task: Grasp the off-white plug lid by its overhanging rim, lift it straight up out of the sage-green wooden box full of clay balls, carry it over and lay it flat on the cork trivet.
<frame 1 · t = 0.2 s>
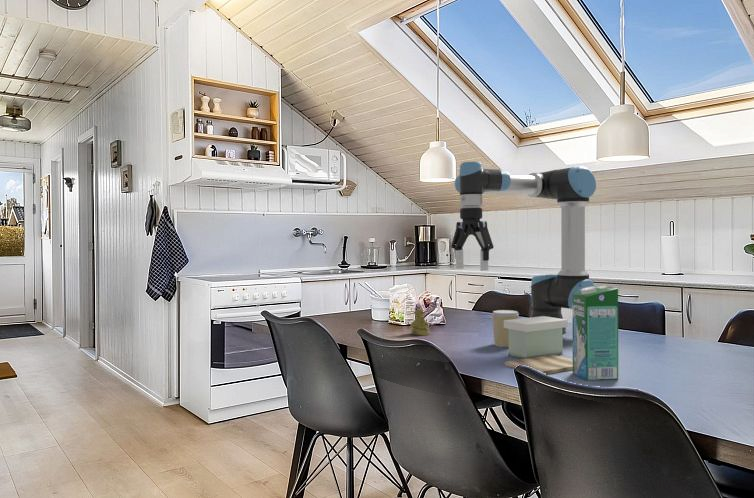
hand: (471, 269, 200), 28 cm above the table, fingers open, 13 cm apart
olive green tiered cone: (419, 334, 235), on the table
coffee cup: (505, 345, 210), on the table
milk carton: (595, 376, 163), on the table
lid: (535, 327, 192), point 9 cm above the table, touching box
trivet: (547, 366, 176), on the table
box: (535, 354, 192), on the table
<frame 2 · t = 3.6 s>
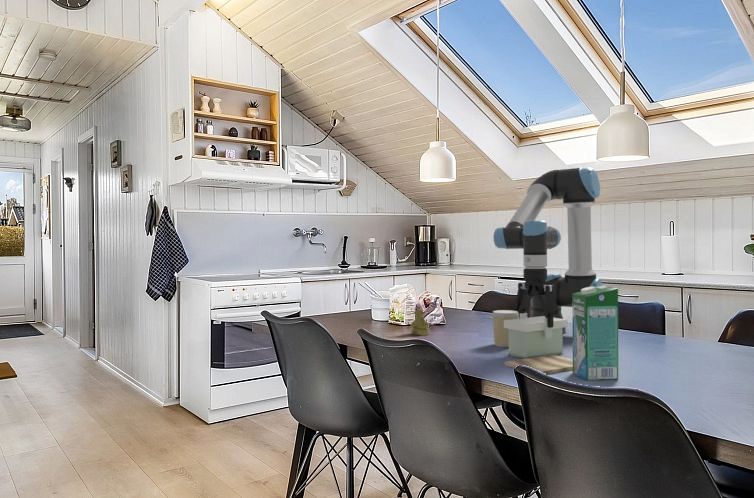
hand: (535, 335, 192), 6 cm above the table, fingers closed on lid, 10 cm apart
lid: (535, 327, 192), point 9 cm above the table, touching box, gripper
everything else where it was.
when the fingers open (2 cm above the table, at t = 11.1 s): lid drops 3 cm, resting on trivet.
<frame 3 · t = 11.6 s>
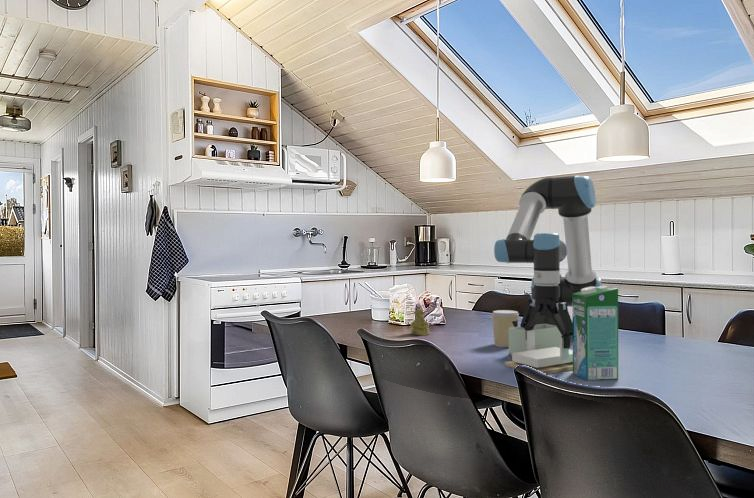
hand: (547, 355, 176), 3 cm above the table, fingers open, 13 cm apart
lid: (547, 360, 176), point 2 cm above the table, touching trivet
everything else where it was.
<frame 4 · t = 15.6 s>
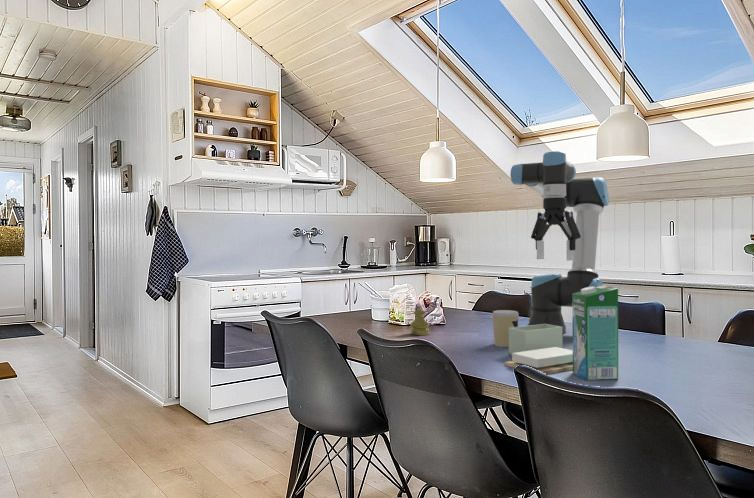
hand: (554, 259, 200), 31 cm above the table, fingers open, 13 cm apart
nothing on the table moved.
at the end: lid inside the target area on the trivet (0.0 cm from its centre), point 1.6 cm above the trivet's base; lid tilted 0°; lid touching trivet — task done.
